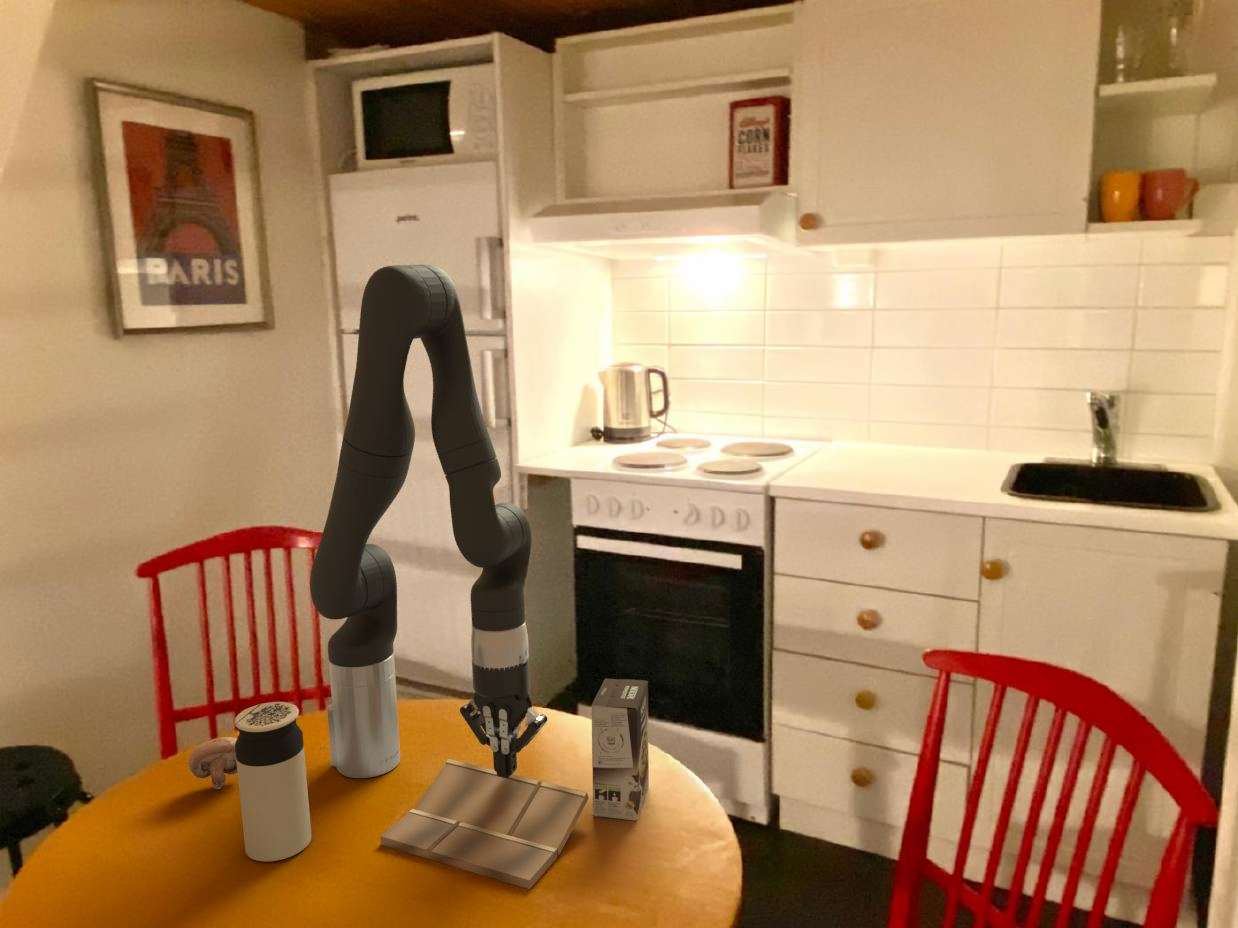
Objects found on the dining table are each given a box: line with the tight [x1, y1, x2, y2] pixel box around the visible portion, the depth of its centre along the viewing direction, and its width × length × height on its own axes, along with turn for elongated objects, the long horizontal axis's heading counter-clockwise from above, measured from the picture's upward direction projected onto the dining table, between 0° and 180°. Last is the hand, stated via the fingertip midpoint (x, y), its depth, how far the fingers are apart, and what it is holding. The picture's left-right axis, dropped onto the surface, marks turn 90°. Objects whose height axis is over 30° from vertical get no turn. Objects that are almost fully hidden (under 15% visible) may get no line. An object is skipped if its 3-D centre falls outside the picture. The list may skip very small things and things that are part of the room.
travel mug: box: [234, 701, 312, 862], centre depth 116 cm, size 8×8×18 cm
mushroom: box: [188, 736, 238, 790], centre depth 131 cm, size 8×6×8 cm
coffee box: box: [591, 678, 650, 821], centre depth 125 cm, size 9×6×16 cm
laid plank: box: [380, 808, 558, 890], centre depth 116 cm, size 22×7×1 cm, turn 65°
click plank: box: [413, 758, 590, 856], centre depth 122 cm, size 22×9×1 cm, turn 65°
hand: (505, 774), depth 125 cm, fingers closed
